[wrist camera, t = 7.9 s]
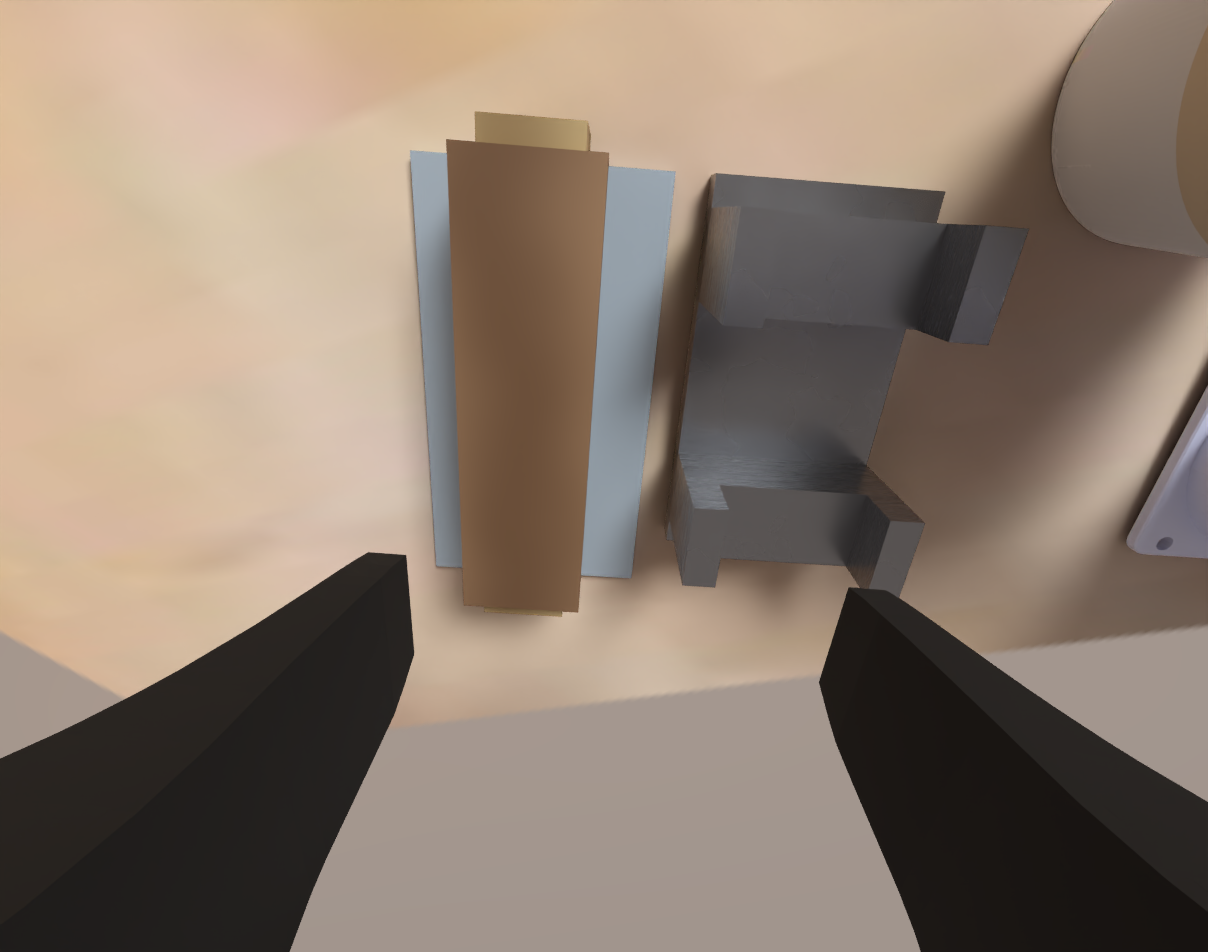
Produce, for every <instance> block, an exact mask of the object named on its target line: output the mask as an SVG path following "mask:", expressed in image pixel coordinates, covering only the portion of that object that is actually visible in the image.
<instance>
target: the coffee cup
mask: <svg viewBox="0 0 1208 952" xmlns="http://www.w3.org/2000/svg"><path fill="white" fill-rule="evenodd" d="M1051 149H1052V165H1053V171H1054V177H1055V180H1056V184H1057V187H1058V190H1059V193H1060V195H1061V197H1062V199H1063V201H1064V203H1065V205H1066V207H1067V208H1068V210H1069V211H1070V213H1071V214H1072V215H1073V216H1074V218H1075V219H1076V220H1077V221H1078V222H1079V223H1080V224H1081V225H1082V226H1084V227H1085V228H1086V229H1087V230H1089V231H1090V232H1092V233H1093V234H1095V235H1097V236H1099V237H1101V238H1103V239H1105V240H1108V241H1111V242H1114V243H1118V244H1123V245H1129V246H1136V247H1142V248H1148V249H1154V250H1160V251H1166V252H1172V253H1178V254H1184V255H1190V256H1196V257H1202V258H1208V0H1114V1H1113V2H1112V3H1111V4H1110V6H1109V7H1108V8H1107V9H1106V10H1105V12H1104V13H1103V14H1102V15H1101V17H1100V18H1099V19H1098V21H1097V22H1096V24H1095V25H1094V26H1093V28H1092V29H1091V31H1090V32H1089V34H1088V35H1087V37H1086V39H1085V40H1084V42H1083V44H1082V45H1081V47H1080V49H1079V51H1078V53H1077V54H1076V56H1075V58H1074V60H1073V62H1072V65H1071V67H1070V69H1069V71H1068V74H1067V76H1066V79H1065V81H1064V84H1063V87H1062V90H1061V93H1060V96H1059V99H1058V103H1057V107H1056V111H1055V116H1054V122H1053V130H1052V144H1051Z"/></svg>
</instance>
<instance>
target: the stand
mask: <svg viewBox="0 0 1208 952" xmlns="http://www.w3.org/2000/svg"><path fill="white" fill-rule="evenodd" d="M944 195H945V192H943V191H931V190H918V189H906V188H893V187H881V186H868V185H856V184H843V183H831V182H818V181H805V180H793V179H780V178H768V177H755V176H743V175H730V174H718V173H716V174H713V175H711V180H710V188H709V196H708V203H707V211H706V218H705V226H704V233H703V241H702V248H701V256H700V263H699V271H698V278H697V286H696V294H695V301H694V309H693V316H692V324H691V331H690V339H689V346H688V354H687V361H686V369H685V376H684V384H683V391H682V399H681V407H680V414H679V422H678V429H677V437H676V444H675V452H674V459H673V467H672V474H671V482H670V489H669V497H668V505H667V512H666V520H665V527H664V529H665V534H666V540H674V545H675V550H676V555H677V560H678V566H679V571H680V576H681V581H682V585H685V586H701V587H715V585H716V580H717V574H718V569H719V564H720V558H725V559H741V560H757V561H772V562H788V563H804V564H819V565H835V566H846V567H847V569H848V570H849V572H850V573H851V575H852V576H853V578H854V579H855V581H856V582H857V584H858V585H859V587H860V588H864V589H878V590H886V591H888V592H890V593H891V594H893V595H895V596H896V597H898V598H899V596H900V593H901V590H902V587H903V585H904V582H905V579H906V576H907V573H908V570H909V568H910V565H911V562H912V559H913V556H914V553H915V551H916V548H917V545H918V542H919V539H920V536H921V534H922V531H923V528H924V525H925V523H924V522H923V521H922V520H921V519H920V518H919V517H918V516H917V515H916V514H915V513H914V512H913V511H912V510H911V509H910V508H909V507H908V506H907V505H906V504H905V503H904V502H903V501H902V500H901V499H900V498H899V497H898V496H897V495H896V494H895V493H894V492H893V491H892V490H891V489H890V488H889V487H888V486H887V485H886V484H885V483H884V482H883V481H882V480H881V479H880V478H878V477H877V476H876V475H875V474H874V473H873V472H872V471H871V470H870V469H869V468H868V467H867V466H866V465H867V461H868V458H869V454H870V451H871V447H872V444H873V441H874V437H875V434H876V430H877V427H878V423H879V420H880V416H881V413H882V409H883V406H884V402H885V399H886V396H887V392H888V389H889V385H890V382H891V378H892V375H893V371H894V368H895V364H896V361H897V358H898V354H899V351H900V347H901V344H902V340H903V337H904V333H905V330H906V329H914V330H918V331H921V332H923V333H926V334H929V335H931V336H934V337H937V338H939V339H942V340H944V341H947V342H954V343H967V344H981V345H988V344H989V341H990V338H991V335H992V333H993V330H994V327H995V324H996V321H997V318H998V316H999V313H1000V310H1001V307H1002V304H1003V301H1004V299H1005V296H1006V293H1007V290H1008V287H1009V284H1010V282H1011V279H1012V276H1013V273H1014V270H1015V267H1016V265H1017V262H1018V259H1019V256H1020V253H1021V250H1022V248H1023V245H1024V242H1025V239H1026V236H1027V233H1028V231H1029V229H1025V228H1012V227H999V226H987V225H958V224H939V223H937V219H938V216H939V212H940V209H941V205H942V202H943V198H944Z"/></svg>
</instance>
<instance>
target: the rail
mask: <svg viewBox="0 0 1208 952" xmlns="http://www.w3.org/2000/svg"><path fill="white" fill-rule="evenodd" d="M590 140H591V134H590V129H589V125H588V121H583V120H571V119H559V118H547V117H535V116H523V115H511V114H499V113H488V112H476V111H475V142H473V141H461V140H449V139H446V145H447V172H448V198H449V225H450V251H451V278H452V304H453V331H454V357H455V384H456V410H457V437H458V463H459V490H460V516H461V543H462V569H463V596H464V605H468V606H483V607H484V612H495V613H510V614H526V615H542V616H558V617H562V611H563V612H578V608H579V595H580V582H581V568H582V555H583V541H584V526H585V511H586V496H587V481H588V466H589V452H590V437H591V422H592V407H593V392H594V377H595V362H596V347H597V333H598V318H599V303H600V288H601V273H602V258H603V243H604V229H605V214H606V199H607V184H608V169H609V153H605V152H593V151H590Z"/></svg>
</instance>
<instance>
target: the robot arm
mask: <svg viewBox="0 0 1208 952" xmlns="http://www.w3.org/2000/svg"><path fill="white" fill-rule="evenodd" d="M1159 540H1160V541H1159ZM1126 542H1127V546H1128V547H1129V548H1130V549H1132V550H1134V551H1135V552H1137V553H1139V554H1145V555H1160V556H1176V557H1191V558H1206V559H1208V386H1207V388H1206V390H1205V392H1204V393H1203V395H1202V397H1201V399H1200V401H1199V403H1198V405H1197V407H1196V408H1195V410H1194V412H1193V414H1192V416H1191V418H1190V420H1189V422H1188V424H1187V425H1186V427H1185V429H1184V431H1183V433H1182V435H1181V437H1180V439H1179V441H1178V442H1177V444H1176V446H1175V448H1174V450H1173V452H1172V454H1171V456H1170V457H1169V459H1168V461H1167V463H1166V465H1165V467H1164V469H1163V471H1162V473H1161V474H1160V476H1159V478H1158V480H1157V482H1156V484H1155V486H1154V488H1153V490H1152V491H1151V493H1150V495H1149V497H1148V499H1147V501H1146V503H1145V505H1144V506H1143V508H1142V510H1141V512H1140V514H1139V516H1138V518H1137V520H1136V522H1135V523H1134V525H1133V527H1132V529H1131V531H1130V533H1129V535H1128V537H1127V541H1126ZM413 656H414V645H413V633H412V621H411V609H410V596H409V584H408V572H407V560H406V555H398V554H384V553H370V552H368V553H366V554H365V555H363V556H361V557H359V558H358V559H356V560H354V561H353V562H351V563H350V564H348V565H347V566H345V567H343V568H342V569H340V570H339V571H337V572H336V573H334V574H333V575H331V576H330V577H328V578H327V579H325V580H324V581H322V582H321V583H319V584H318V585H316V586H315V587H313V588H312V589H310V590H309V591H307V592H305V593H304V594H302V595H301V596H299V597H298V598H296V599H295V600H293V601H292V602H290V603H288V604H287V605H285V606H284V607H282V608H281V609H279V610H278V611H276V612H275V613H273V614H271V615H270V616H268V617H267V618H265V619H264V620H262V621H261V622H259V623H257V624H256V625H254V626H253V627H251V628H249V629H248V630H246V631H244V632H243V633H241V634H239V635H237V636H236V637H234V638H232V639H231V640H229V641H227V642H226V643H224V644H222V645H221V646H219V647H217V648H216V649H214V650H212V651H211V652H209V653H207V654H205V655H204V656H202V657H200V658H199V659H197V660H195V661H194V662H192V663H190V664H189V665H187V666H185V667H184V668H182V669H180V670H178V671H177V672H175V673H173V674H171V675H169V676H168V677H166V678H164V679H162V680H160V681H159V682H157V683H155V684H153V685H151V686H149V687H147V688H145V689H144V690H142V691H140V692H138V693H136V694H134V695H132V696H130V697H128V698H126V699H124V700H123V701H121V702H119V703H117V704H115V705H113V706H111V707H109V708H107V709H105V710H103V711H101V712H99V713H97V714H95V715H93V716H91V717H89V718H87V719H85V720H83V721H81V722H79V723H77V724H75V725H73V726H71V727H69V728H67V729H65V730H63V731H60V732H58V733H56V734H54V735H52V736H50V737H47V738H45V739H43V740H41V741H39V742H36V743H34V744H32V745H30V746H28V747H25V748H23V749H21V750H19V751H16V752H14V753H12V754H10V755H7V756H5V757H3V758H1V759H0V952H290V949H291V946H292V944H293V941H294V938H295V936H296V933H297V930H298V928H299V925H300V922H301V920H302V917H303V914H304V911H305V909H306V906H307V903H308V901H309V898H310V895H311V893H312V891H313V888H314V886H315V883H316V881H317V879H318V876H319V874H320V872H321V870H322V867H323V865H324V863H325V860H326V858H327V856H328V854H329V852H330V849H331V847H332V845H333V843H334V841H335V839H336V837H337V835H338V833H339V830H340V828H341V826H342V824H343V822H344V820H345V817H346V816H347V814H348V812H349V809H350V807H351V805H352V803H353V801H354V799H355V797H356V795H357V793H358V790H359V788H360V786H361V784H362V782H363V780H364V778H365V776H366V774H367V771H368V769H369V767H370V765H371V763H372V761H373V759H374V757H375V755H376V752H377V750H378V748H379V746H380V744H381V741H382V740H383V737H384V735H385V733H386V731H387V729H388V727H389V725H390V722H391V720H392V718H393V716H394V714H395V711H396V708H397V705H398V702H399V699H400V696H401V694H402V691H403V688H404V685H405V682H406V678H407V675H408V672H409V669H410V666H411V663H412V659H413ZM819 684H820V688H821V692H822V695H823V699H824V703H825V707H826V710H827V714H828V718H829V721H830V725H831V728H832V731H833V735H834V738H835V741H836V744H837V747H838V749H839V752H840V754H841V756H842V759H843V761H844V764H845V766H846V769H847V771H848V773H849V775H850V778H851V781H852V783H853V785H854V788H855V790H856V792H857V795H858V797H859V799H860V802H861V804H862V807H863V809H864V811H865V814H866V816H867V818H868V821H869V823H870V825H871V828H872V830H873V832H874V835H875V837H876V839H877V842H878V844H879V846H880V849H881V851H882V853H883V856H884V858H885V860H886V863H887V865H888V867H889V870H890V872H891V874H892V877H893V879H894V881H895V884H896V886H897V888H898V891H899V893H900V896H901V898H902V901H903V904H904V906H905V909H906V911H907V914H908V916H909V919H910V921H911V924H912V927H913V929H914V932H915V935H916V938H917V941H918V944H919V947H920V950H921V952H1208V802H1207V801H1205V800H1203V799H1202V798H1200V797H1198V796H1196V795H1195V794H1193V793H1192V792H1190V791H1188V790H1186V789H1185V788H1183V787H1181V786H1180V785H1178V784H1176V783H1174V782H1173V781H1171V780H1169V779H1168V778H1166V777H1164V776H1163V775H1161V774H1159V773H1158V772H1156V771H1154V770H1152V769H1150V768H1149V767H1147V766H1146V765H1144V764H1142V763H1141V762H1139V761H1137V760H1136V759H1134V758H1133V757H1131V756H1129V755H1128V754H1126V753H1124V752H1123V751H1121V750H1120V749H1118V748H1116V747H1115V746H1113V745H1112V744H1110V743H1108V742H1107V741H1105V740H1104V739H1102V738H1101V737H1099V736H1098V735H1096V734H1095V733H1093V732H1092V731H1090V730H1089V729H1087V728H1085V727H1084V726H1082V725H1081V724H1079V723H1078V722H1076V721H1075V720H1073V719H1071V718H1070V717H1069V716H1067V715H1066V714H1064V713H1062V712H1061V711H1060V710H1058V709H1056V708H1055V707H1053V706H1052V705H1050V704H1049V703H1048V702H1046V701H1045V700H1043V699H1042V698H1040V697H1039V696H1037V695H1036V694H1034V693H1033V692H1031V691H1030V690H1029V689H1027V688H1026V687H1024V686H1023V685H1021V684H1020V683H1018V682H1017V681H1016V680H1014V679H1013V678H1011V677H1010V676H1008V675H1007V674H1006V673H1004V672H1003V671H1001V670H1000V669H998V668H997V667H996V666H994V665H993V664H992V663H990V662H989V661H987V660H986V659H985V658H983V657H982V656H980V655H979V654H978V653H976V652H975V651H973V650H972V649H971V648H969V647H968V646H966V645H965V644H964V643H962V642H961V641H960V640H958V639H957V638H955V637H954V636H953V635H951V634H950V633H948V632H947V631H946V630H944V629H943V628H941V627H940V626H939V625H937V624H936V623H934V622H933V621H932V620H930V619H929V618H927V617H926V616H925V615H923V614H922V613H920V612H919V611H917V610H916V609H915V608H913V607H912V606H910V605H909V604H907V603H906V602H904V601H903V600H901V599H900V598H898V597H896V596H895V595H893V594H891V593H890V592H888V591H886V590H878V589H864V588H851V587H849V588H848V591H847V594H846V598H845V601H844V604H843V607H842V610H841V614H840V617H839V620H838V623H837V626H836V630H835V633H834V636H833V639H832V642H831V646H830V649H829V652H828V655H827V658H826V662H825V665H824V668H823V671H822V674H821V678H820V681H819Z"/></svg>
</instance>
